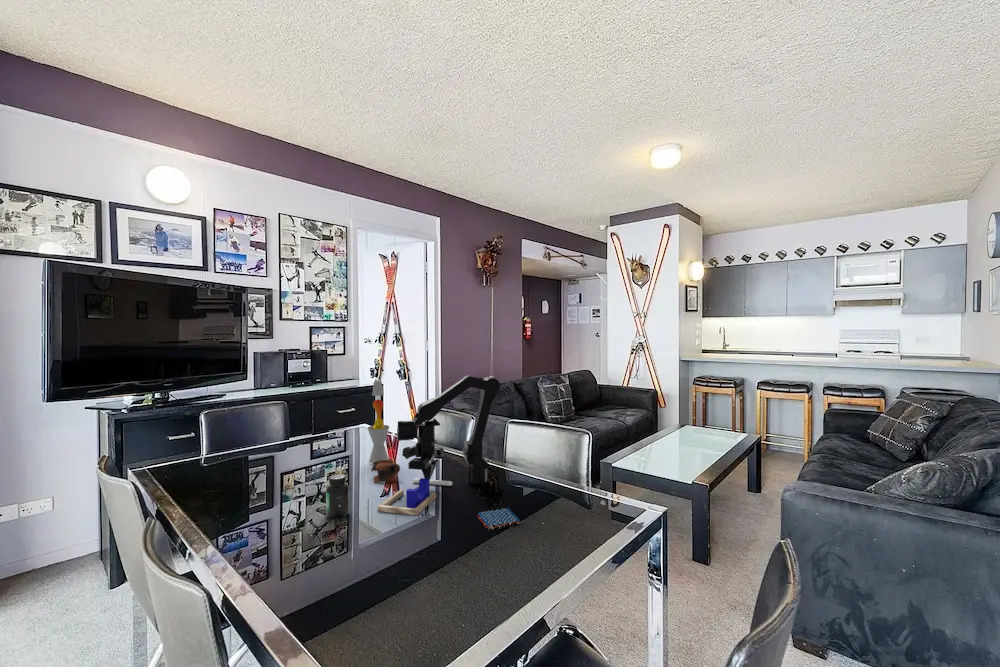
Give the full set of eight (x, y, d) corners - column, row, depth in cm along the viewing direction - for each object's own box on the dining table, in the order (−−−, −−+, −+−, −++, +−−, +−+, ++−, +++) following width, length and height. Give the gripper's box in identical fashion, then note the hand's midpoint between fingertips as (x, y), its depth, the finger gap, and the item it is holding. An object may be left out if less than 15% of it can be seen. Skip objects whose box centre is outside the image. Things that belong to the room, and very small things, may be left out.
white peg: (453, 485, 170) (453, 480, 170) (451, 486, 169) (451, 482, 169) (413, 481, 175) (413, 477, 174) (412, 483, 173) (411, 478, 173)
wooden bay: (436, 497, 158) (436, 493, 158) (416, 515, 144) (416, 510, 144) (400, 494, 162) (400, 489, 162) (377, 511, 147) (377, 506, 147)
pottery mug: (366, 484, 174) (366, 462, 178) (379, 487, 182) (379, 466, 186) (394, 477, 172) (394, 455, 176) (407, 481, 180) (406, 460, 184)
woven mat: (475, 518, 142) (475, 511, 142) (508, 513, 146) (508, 506, 146) (486, 532, 132) (486, 525, 132) (521, 526, 136) (521, 519, 136)
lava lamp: (366, 460, 203) (365, 380, 203) (387, 457, 207) (386, 378, 206) (370, 466, 195) (368, 382, 194) (391, 463, 199) (390, 380, 198)
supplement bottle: (325, 521, 140) (324, 481, 140) (327, 512, 147) (326, 474, 147) (349, 518, 142) (348, 478, 142) (350, 509, 149) (349, 472, 148)
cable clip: (417, 495, 161) (417, 477, 161) (429, 496, 160) (429, 478, 160) (402, 508, 150) (402, 489, 149) (415, 509, 149) (415, 490, 148)
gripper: (416, 431, 178) (417, 472, 178) (393, 443, 160) (394, 489, 160) (444, 432, 175) (445, 474, 175) (424, 445, 157) (425, 491, 157)
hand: (427, 481), depth 167 cm, fingers closed
